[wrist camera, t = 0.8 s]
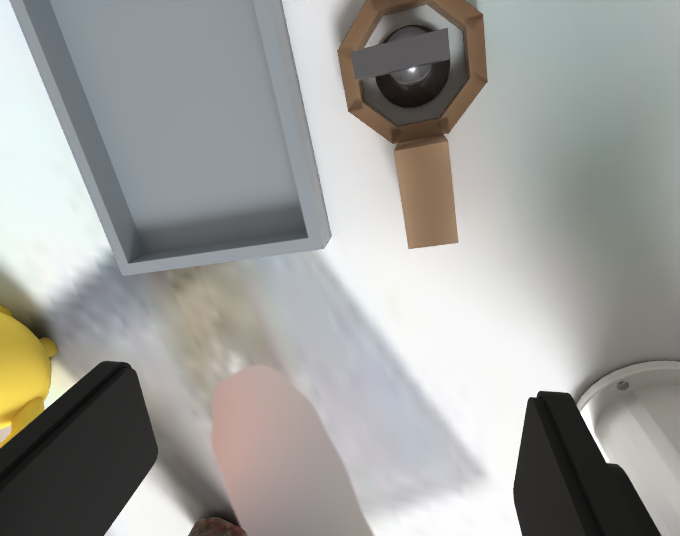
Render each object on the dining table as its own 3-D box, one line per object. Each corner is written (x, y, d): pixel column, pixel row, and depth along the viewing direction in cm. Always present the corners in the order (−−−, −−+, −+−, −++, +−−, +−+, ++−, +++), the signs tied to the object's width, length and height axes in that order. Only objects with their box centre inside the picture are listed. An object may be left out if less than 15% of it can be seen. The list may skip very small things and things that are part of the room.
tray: (261, -91, 26) (243, -113, 23) (331, 236, 34) (323, 248, 31) (37, -13, 30) (0, -23, 28) (143, 263, 38) (122, 275, 35)
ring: (475, -29, 25) (494, -71, 19) (491, 207, 31) (511, 235, 24) (334, 10, 28) (309, -17, 21) (372, 224, 33) (361, 255, 26)
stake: (445, 17, 27) (459, -27, 17) (453, 99, 28) (469, 99, 19) (368, 37, 28) (342, 5, 18) (379, 114, 29) (362, 121, 20)
